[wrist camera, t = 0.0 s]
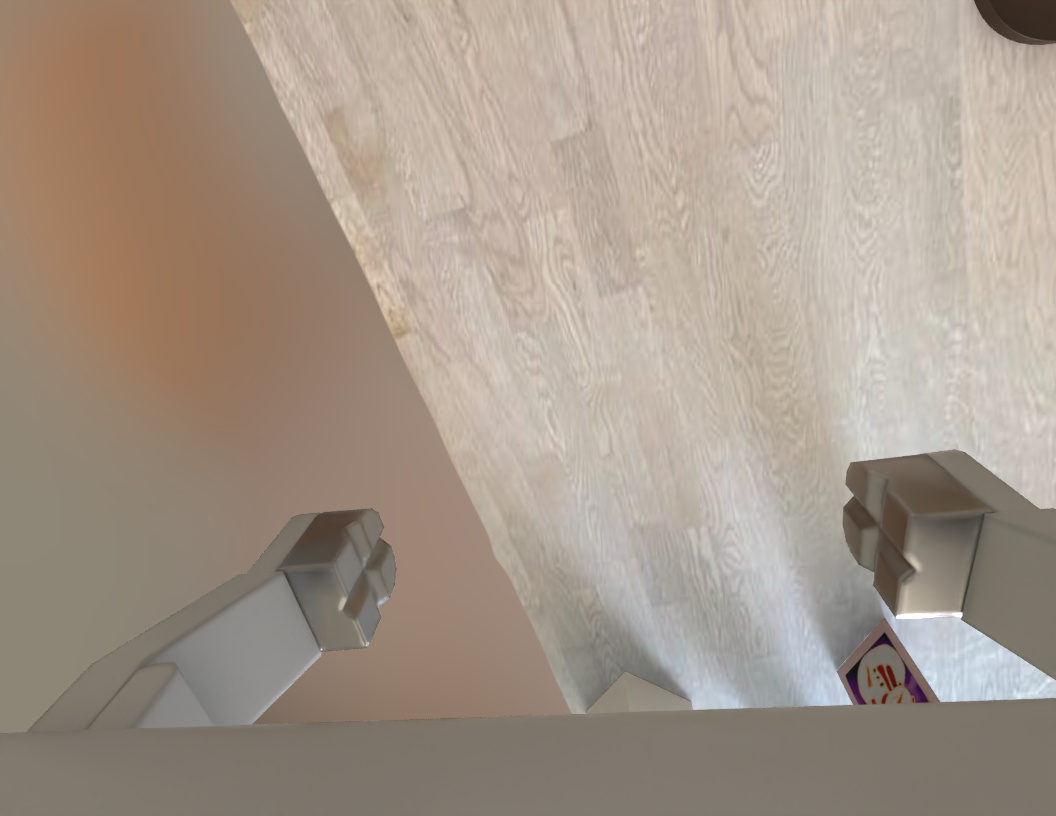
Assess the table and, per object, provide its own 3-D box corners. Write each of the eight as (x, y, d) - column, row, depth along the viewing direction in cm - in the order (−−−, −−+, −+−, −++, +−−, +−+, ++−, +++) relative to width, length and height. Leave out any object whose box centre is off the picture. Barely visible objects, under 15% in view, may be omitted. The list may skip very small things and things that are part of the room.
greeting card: (878, 615, 71) (948, 724, 57) (928, 631, 71) (1010, 743, 58) (831, 669, 76) (885, 780, 62) (878, 684, 76) (942, 797, 63)
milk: (691, 702, 81) (737, 922, 58) (648, 740, 86) (675, 958, 63) (625, 671, 80) (644, 885, 56) (585, 712, 84) (588, 925, 61)
